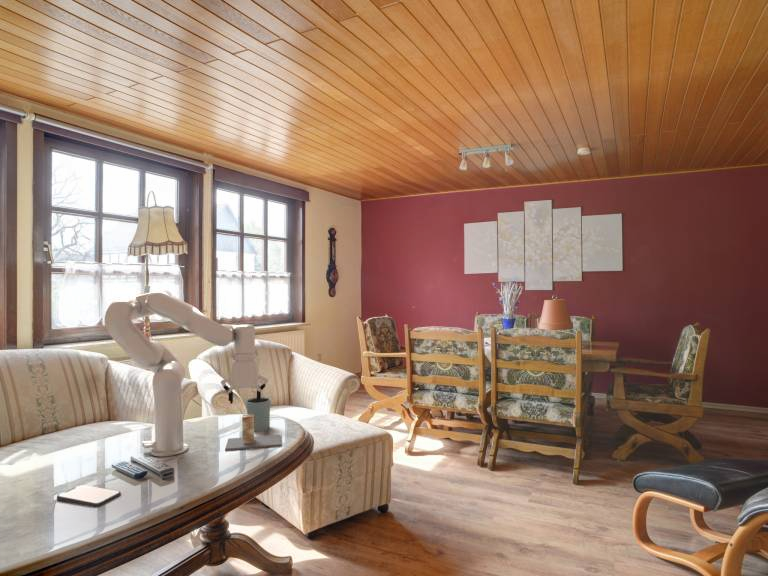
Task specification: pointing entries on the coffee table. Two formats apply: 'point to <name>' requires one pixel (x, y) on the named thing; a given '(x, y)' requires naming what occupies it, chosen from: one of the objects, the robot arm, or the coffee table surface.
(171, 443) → the robot arm
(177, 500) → the coffee table surface
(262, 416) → the grey-green cup
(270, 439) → the mat
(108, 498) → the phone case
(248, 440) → the maple block
